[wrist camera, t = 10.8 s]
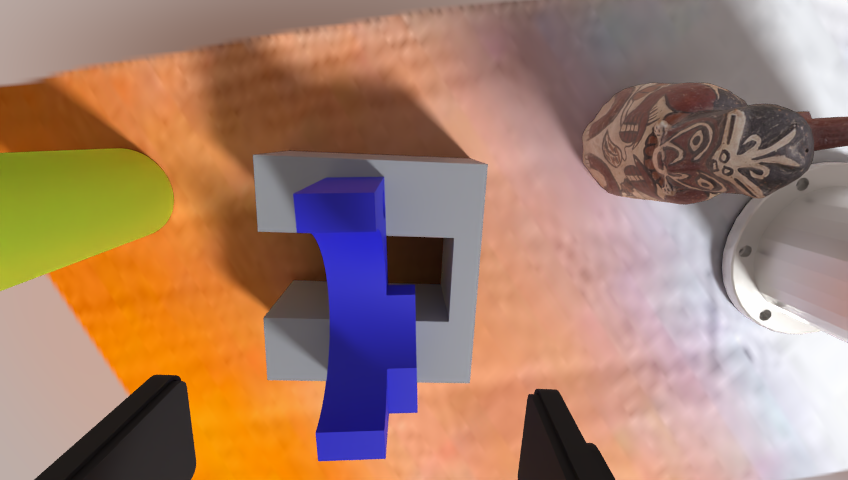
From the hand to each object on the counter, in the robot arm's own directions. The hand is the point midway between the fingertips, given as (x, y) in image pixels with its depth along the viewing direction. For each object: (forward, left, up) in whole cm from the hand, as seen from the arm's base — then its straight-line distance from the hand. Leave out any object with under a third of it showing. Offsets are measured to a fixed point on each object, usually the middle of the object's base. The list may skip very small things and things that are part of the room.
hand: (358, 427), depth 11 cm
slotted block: (+1, 0, -18) cm, 18 cm away
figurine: (-16, -8, -18) cm, 25 cm away
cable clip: (+1, 0, -12) cm, 12 cm away
